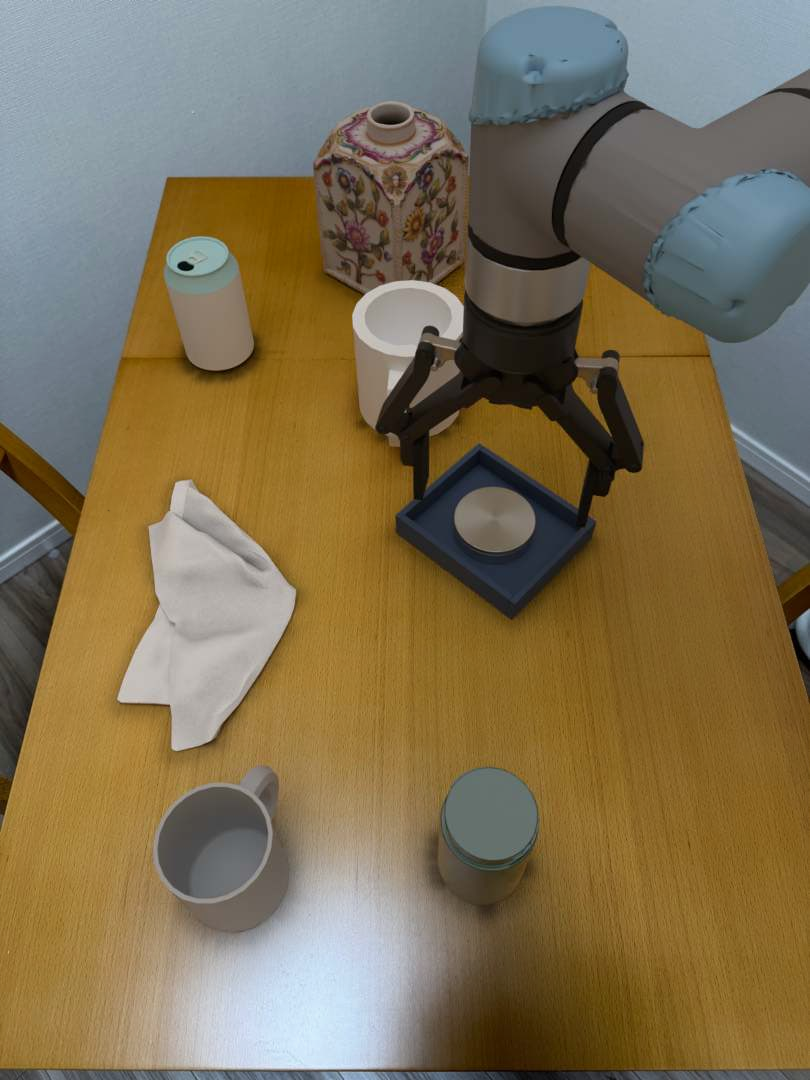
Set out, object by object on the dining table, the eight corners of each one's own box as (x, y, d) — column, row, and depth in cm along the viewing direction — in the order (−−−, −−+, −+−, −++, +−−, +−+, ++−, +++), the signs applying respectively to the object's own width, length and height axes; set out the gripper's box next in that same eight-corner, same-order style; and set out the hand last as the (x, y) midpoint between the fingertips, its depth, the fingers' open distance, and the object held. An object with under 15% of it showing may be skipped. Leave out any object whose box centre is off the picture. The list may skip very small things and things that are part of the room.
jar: (541, 857, 60) (562, 809, 51) (486, 925, 57) (498, 887, 49) (475, 799, 62) (484, 744, 54) (419, 862, 60) (420, 815, 51)
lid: (495, 486, 78) (496, 473, 76) (550, 534, 75) (553, 521, 73) (436, 527, 75) (437, 515, 74) (491, 578, 72) (493, 566, 71)
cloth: (283, 751, 64) (279, 739, 62) (101, 752, 64) (91, 740, 63) (306, 481, 79) (303, 466, 77) (158, 482, 79) (152, 467, 78)
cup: (165, 908, 58) (129, 874, 51) (236, 775, 63) (213, 727, 56) (260, 952, 56) (236, 924, 49) (325, 811, 62) (312, 767, 54)
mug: (458, 469, 80) (463, 387, 71) (349, 464, 80) (341, 382, 72) (463, 367, 88) (468, 282, 79) (363, 363, 88) (358, 278, 79)
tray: (592, 538, 75) (597, 521, 73) (512, 620, 71) (514, 604, 68) (477, 461, 80) (478, 442, 78) (395, 532, 76) (395, 515, 74)
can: (250, 375, 87) (229, 279, 78) (182, 375, 88) (152, 278, 78) (258, 328, 91) (239, 231, 82) (193, 328, 92) (166, 231, 82)
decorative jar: (466, 264, 97) (475, 108, 82) (399, 317, 92) (396, 160, 77) (387, 224, 102) (382, 68, 87) (319, 272, 97) (302, 116, 82)
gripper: (728, 277, 54) (655, 490, 71) (349, 232, 58) (367, 444, 75) (727, 358, 50) (650, 563, 67) (317, 303, 53) (344, 510, 71)
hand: (500, 500), depth 71 cm, fingers open, 13 cm apart
